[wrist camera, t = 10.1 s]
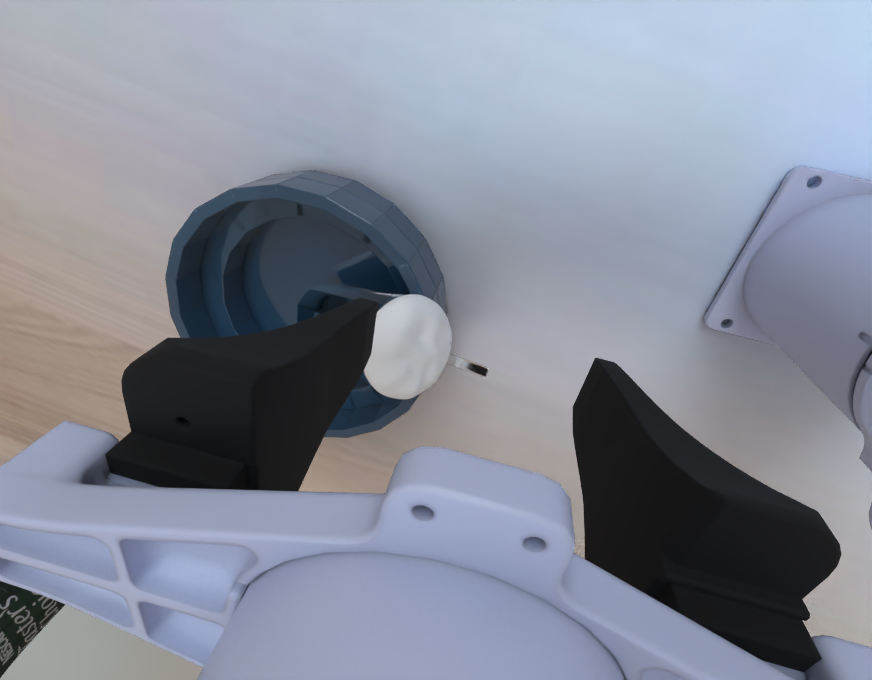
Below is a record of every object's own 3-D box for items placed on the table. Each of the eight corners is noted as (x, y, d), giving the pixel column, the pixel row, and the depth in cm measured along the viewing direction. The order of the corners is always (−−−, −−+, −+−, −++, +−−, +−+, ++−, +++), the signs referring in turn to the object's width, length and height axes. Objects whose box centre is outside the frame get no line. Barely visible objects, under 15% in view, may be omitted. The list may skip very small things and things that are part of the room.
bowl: (473, 205, 22) (461, 229, 18) (424, 415, 30) (408, 464, 26) (210, 141, 23) (146, 152, 19) (226, 361, 30) (182, 401, 26)
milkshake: (355, 360, 27) (470, 421, 20) (272, 341, 23) (376, 407, 16) (379, 290, 27) (504, 324, 19) (299, 259, 23) (417, 288, 16)
